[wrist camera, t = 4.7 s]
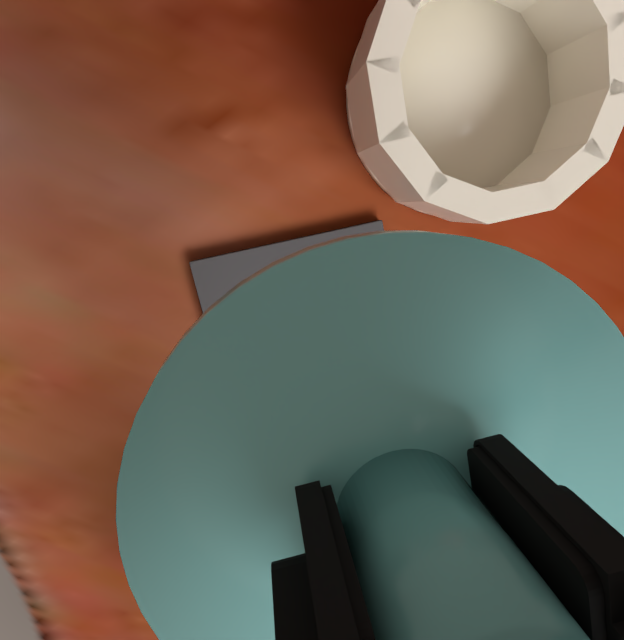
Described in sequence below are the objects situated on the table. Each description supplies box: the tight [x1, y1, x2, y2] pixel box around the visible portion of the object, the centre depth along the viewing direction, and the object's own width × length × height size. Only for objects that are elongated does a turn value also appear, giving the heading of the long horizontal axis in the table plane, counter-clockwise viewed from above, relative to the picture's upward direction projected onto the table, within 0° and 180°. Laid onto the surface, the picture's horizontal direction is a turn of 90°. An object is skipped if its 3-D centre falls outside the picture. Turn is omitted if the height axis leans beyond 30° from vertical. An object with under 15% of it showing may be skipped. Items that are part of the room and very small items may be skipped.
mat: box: [190, 220, 384, 313], centre depth 26 cm, size 10×10×1 cm
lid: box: [116, 230, 624, 640], centre depth 9 cm, size 12×12×6 cm
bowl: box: [345, 0, 624, 224], centre depth 22 cm, size 12×12×5 cm
